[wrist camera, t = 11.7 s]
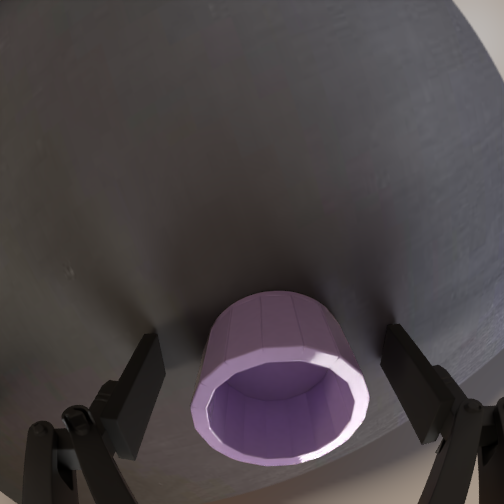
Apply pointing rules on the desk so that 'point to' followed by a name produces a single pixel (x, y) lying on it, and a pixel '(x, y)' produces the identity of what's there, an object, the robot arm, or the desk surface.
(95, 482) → the robot arm
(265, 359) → the lavender plastic cup
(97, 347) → the desk surface
